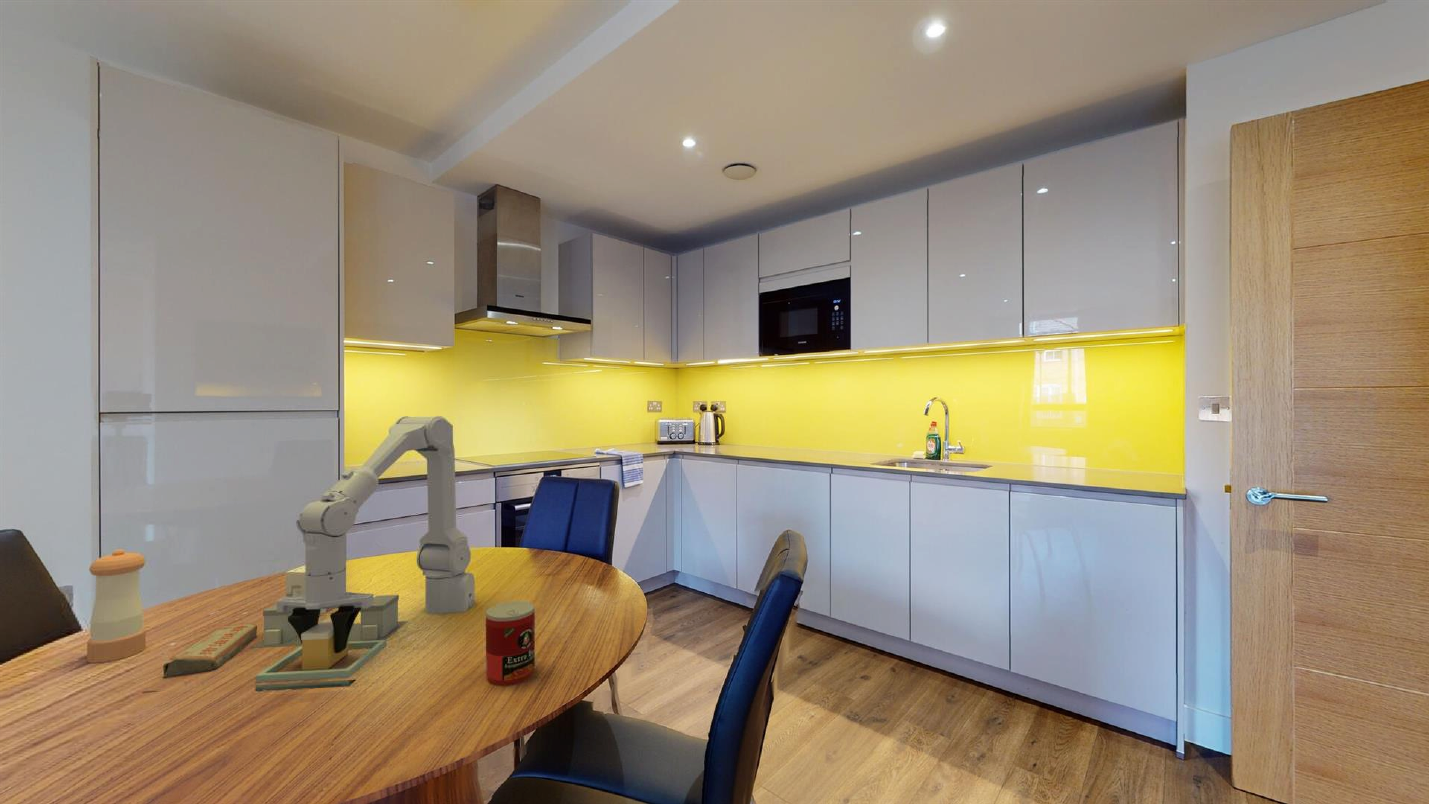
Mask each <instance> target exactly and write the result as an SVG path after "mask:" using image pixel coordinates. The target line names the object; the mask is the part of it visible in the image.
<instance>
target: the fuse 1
mask: <svg viewBox="0 0 1429 804" xmlns="http://www.w3.org/2000/svg"><path fill="white" fill-rule="evenodd" d="M292 613H293V610H287V611H284V612H277V603H275V604H274V605H272V606H270V607H268V608H266V609H264V610H262V616H263V632H264V631H266V630H275V629H281V642H287V641H289V640H291V639H292V638H294V637H296V636H297V635H298V634H297V632H296V631H295V629H294V628H293V626H292V625H291V624H290V623H289V622H288V617H289V616H290V615H292Z"/></svg>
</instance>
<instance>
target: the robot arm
mask: <svg viewBox="0 0 1429 804" xmlns="http://www.w3.org/2000/svg"><path fill="white" fill-rule="evenodd" d="M409 451H415V452H417V453H418V454H419V455H421V456H422V457H423V458H424V459H426V473H427V474H426V478H427V483H426V484H427V518H428V519H427V523H428V525H427V527H428V528H427V529H428V531H427V532H426V533H425V534H424V535H423V536H421V538H420V539H419V549H418V552H417V554H416V566H417V568H418V569H420V570H421V571H422V575H423V576H425V582H424V583H425V585H424V586H425V590H424V593H425V598H424V599H425V604H424V605H425V610H424V611H425V613H426V614H430V615H442V614H449V613H451V614H452V613H465V612H467V611H468V610H469V609H470V608H472V607H473V605H474V604H475V601H476V600H475V594H476V593H475V589H476V587H475V582H476V581H475V575H474V573H472V572H466V570H467V568H468V567H469V565H470V562H471V558H472V553H471V549H470V547H469V546H470V545H469V543H468V536H467V535H466V534H464V532H462V531H461V530H460V529H458V527H457V509H456V508H457V505H456V503H457V500H456V497H457V496H456V461H455V460H456V456H455V455H456V454H455V452H456V451H455V445H454V427H453V424H452V423H450V421H449V420H448V419H446V418H445V417H443V416H439V415H436V416H402V417H400V418H398V419H397V420H396V421H395V423H394V424H392V425H391V426H390V427H389V430H388V435H387V436H386V438H385V439H384V440H383V441H382V443H380V445H378V447H376V449H375V450H374V452H373V453H372V454H371V455H370V457H369V458H368V459H366V461H365V463H364V464H362V466H361V467H352V468H350V469H349V470H344V472H343V473H341V475H340V476H341V478H340V479H338V481H337V482H335V484H334V485H333V486H332V487H330V489H329V490H328V491H325V492H324V493H323V494H322V495H321V498H320V499H319V500H315V501H314V502H313V501H312V502H310V503H308V504H307V505H306V506H305V507H304V508H303V509H302V510H301V512H300V513H299V516H298V518H297V519H296V520H295V523H296V528H297V530H298V531H299V532H300V533H301V534H302V539H303V541H302V542H303V543H304V545H305V546H304V547H305V548H304V549H305V556H304V558H305V561H304V563H305V595H302V596H294V597H286V596H284V597H282V598H280V599H278V600H276V604H277V612H284V611H287V610H293V613H292V615H290V616H289V617H288V622H289V623H290V624H291V625H292V626H293V628H294V629H295V631H296V632H297V634H298V636H299V638H300V641H301V644H302V640H301V634H302V633H304V632H306V631H307V630H309V629H310V628H312V627H314V626H315V625H317V624H319V618H320V616H321V615H320V611H321V609H332V610H333V608H334V609H338V610H336V611H333V612H332V613H331V614H330V620H332V624H333V629H334V649H335V653H340V652H341V651H343V650H344V649H345V648H346V645H347V641H348V637H349V634H350V631H351V628H352V626H353V623H355V621H356V619H357V617H358V615H359V613H361V612H360V610H361V608H362V609H364V608H369V607H370V606H372V605H373V598H374V593H363V592H362V593H361V592H352V591H347V533H348V531H349V530H351V529H352V528H353V526H354V525H355V522H356V516H357V514H358V513H359V509H360V508H361V506H363V504H365V503H366V501H367V500H368V499H369V498H370V497H371V495H373V494H374V493H375V491H376V490H377V489H378V488H379V478H380V477H381V476H382V475H383V474H384V473H386V471H387V470H388V469H389V468H390V467H392V466H393V464H395V463H396V462H397V461H398V460H399V459H400V458H401V457H402V456H403V455H404V454H405V453H407V452H409ZM319 615H320V616H319Z"/></svg>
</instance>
